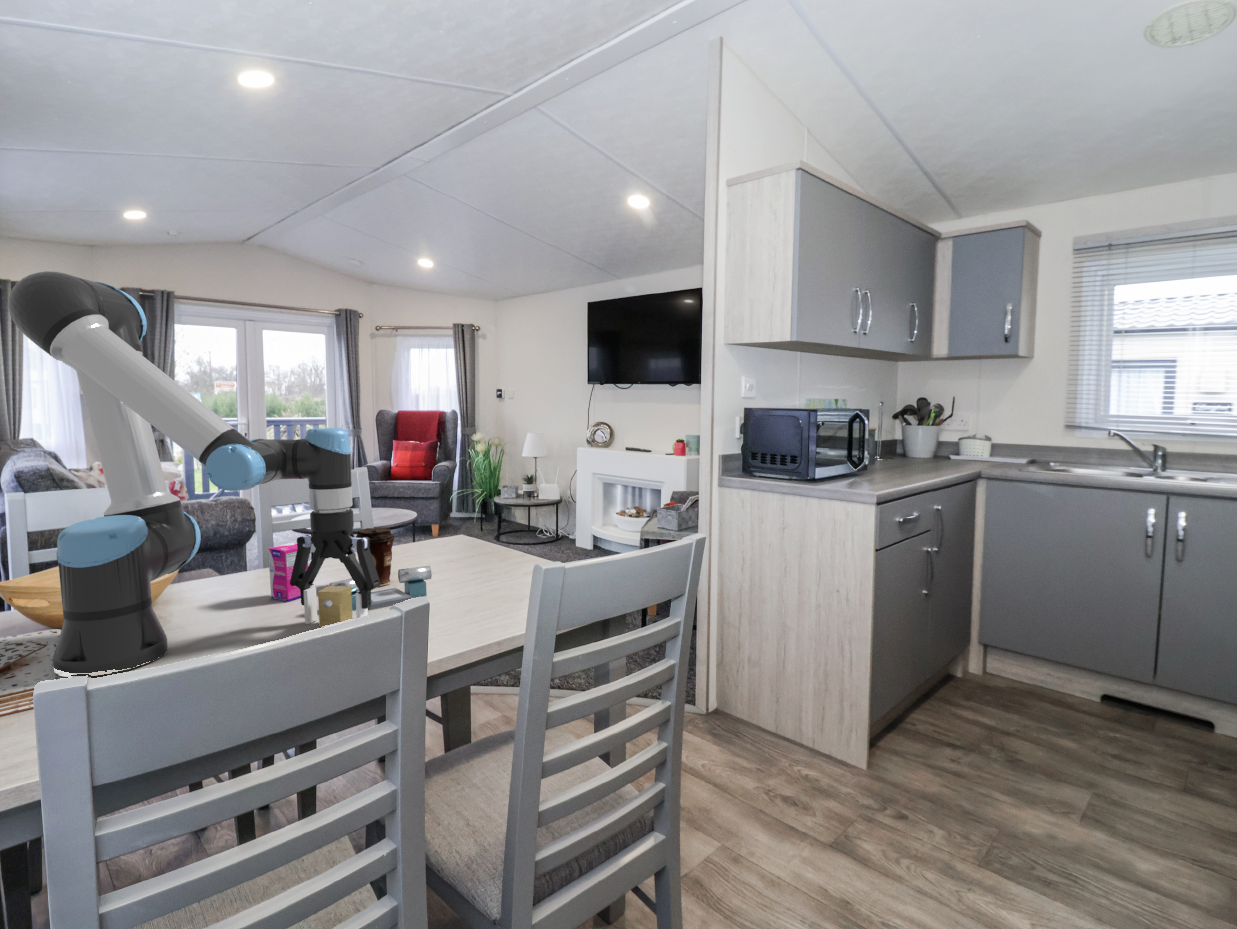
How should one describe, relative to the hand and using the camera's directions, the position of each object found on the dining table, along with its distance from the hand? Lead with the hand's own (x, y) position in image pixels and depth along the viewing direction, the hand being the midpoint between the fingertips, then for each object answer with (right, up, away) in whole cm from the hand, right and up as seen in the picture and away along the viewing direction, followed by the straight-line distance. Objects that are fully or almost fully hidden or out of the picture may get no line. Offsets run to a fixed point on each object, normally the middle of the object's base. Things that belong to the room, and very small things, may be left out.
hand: (336, 622), depth 127 cm
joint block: (0, 0, 0) cm, 0 cm away
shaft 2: (+9, +2, +20) cm, 22 cm away
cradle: (+4, +1, +15) cm, 15 cm away
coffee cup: (-3, +2, +28) cm, 28 cm away
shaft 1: (-2, +1, +10) cm, 10 cm away
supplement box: (-18, +1, +18) cm, 25 cm away
